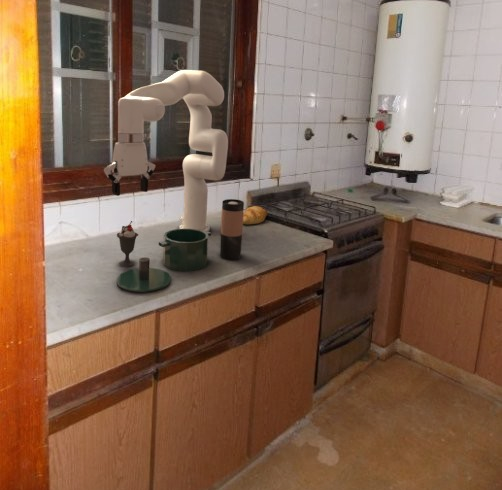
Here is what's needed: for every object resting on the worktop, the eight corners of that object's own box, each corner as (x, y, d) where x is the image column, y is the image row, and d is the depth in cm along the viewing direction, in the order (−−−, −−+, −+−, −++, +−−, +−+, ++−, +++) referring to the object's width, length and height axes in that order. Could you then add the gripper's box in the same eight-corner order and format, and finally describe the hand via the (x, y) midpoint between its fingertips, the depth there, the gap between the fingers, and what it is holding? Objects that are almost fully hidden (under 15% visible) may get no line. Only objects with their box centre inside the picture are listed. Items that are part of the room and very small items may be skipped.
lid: (107, 279, 131) (107, 257, 130) (152, 267, 142) (152, 246, 141) (134, 299, 120) (134, 274, 119) (180, 284, 131) (181, 261, 130)
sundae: (134, 268, 140) (135, 223, 138) (113, 267, 140) (114, 222, 138) (140, 260, 147) (140, 217, 144) (120, 259, 147) (120, 216, 144)
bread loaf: (247, 234, 191) (255, 221, 187) (230, 220, 194) (238, 206, 191) (269, 222, 209) (277, 210, 205) (253, 209, 212) (261, 197, 209)
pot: (147, 262, 146) (148, 234, 144) (195, 249, 160) (196, 224, 158) (173, 276, 136) (174, 247, 134) (221, 262, 150) (223, 235, 148)
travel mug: (244, 254, 158) (247, 200, 154) (236, 261, 151) (239, 205, 147) (224, 250, 161) (227, 198, 157) (216, 257, 153) (218, 202, 150)
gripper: (148, 136, 143) (147, 187, 146) (98, 138, 130) (98, 193, 134) (161, 138, 138) (160, 191, 141) (110, 141, 125) (110, 199, 129)
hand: (130, 192), depth 137 cm, fingers open, 9 cm apart
